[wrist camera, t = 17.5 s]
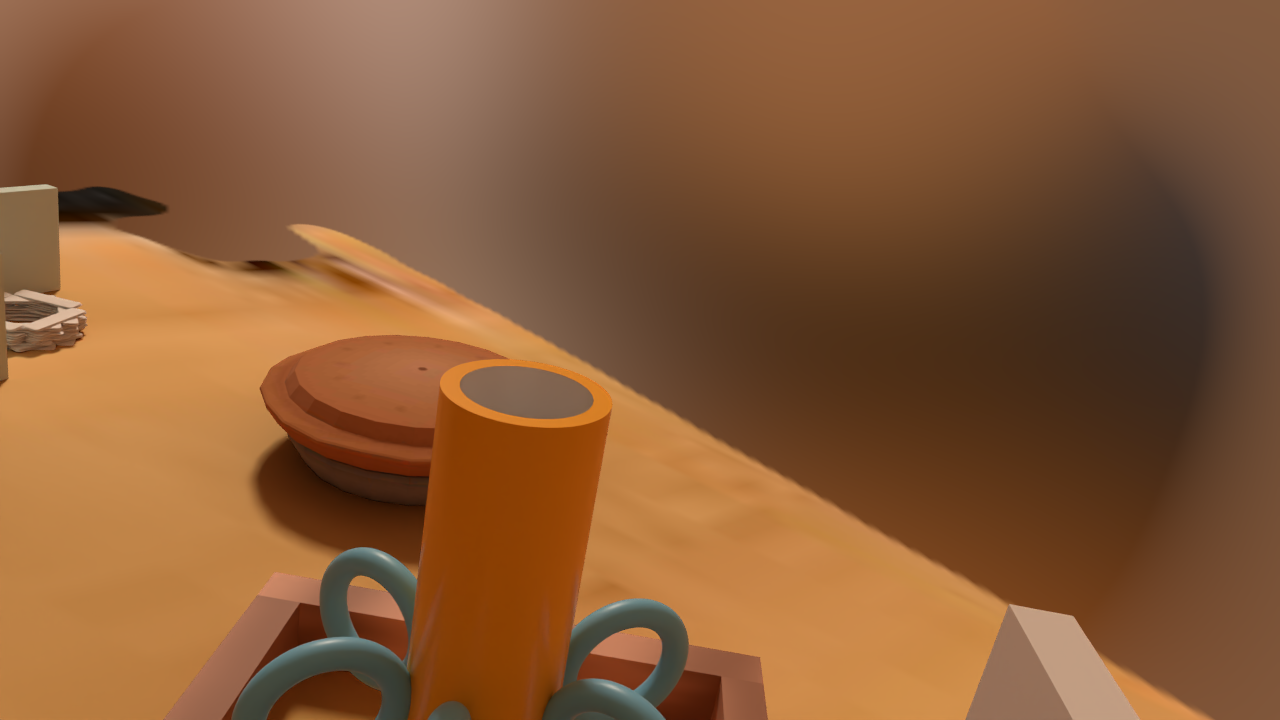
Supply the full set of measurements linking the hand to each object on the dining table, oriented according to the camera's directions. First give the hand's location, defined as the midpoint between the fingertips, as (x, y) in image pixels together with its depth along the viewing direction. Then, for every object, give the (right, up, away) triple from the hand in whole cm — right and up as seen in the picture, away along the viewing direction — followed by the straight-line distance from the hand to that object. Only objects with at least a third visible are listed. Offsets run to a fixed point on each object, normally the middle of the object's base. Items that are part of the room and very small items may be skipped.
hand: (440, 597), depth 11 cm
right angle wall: (-35, +4, +46) cm, 58 cm away
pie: (-10, -3, +40) cm, 41 cm away
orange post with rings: (-3, -12, +16) cm, 20 cm away
